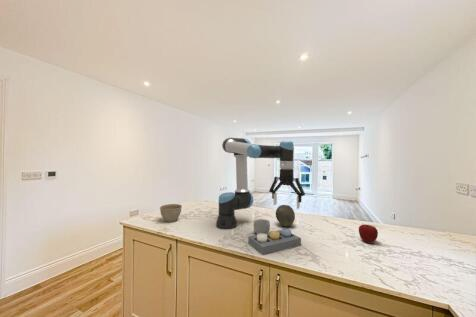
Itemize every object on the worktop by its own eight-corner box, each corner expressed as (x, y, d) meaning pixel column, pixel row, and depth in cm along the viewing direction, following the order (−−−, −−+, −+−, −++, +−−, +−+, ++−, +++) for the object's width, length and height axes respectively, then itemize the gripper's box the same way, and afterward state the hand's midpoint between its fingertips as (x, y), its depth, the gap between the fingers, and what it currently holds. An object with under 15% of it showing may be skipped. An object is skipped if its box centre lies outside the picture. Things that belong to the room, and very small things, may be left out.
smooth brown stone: (297, 224, 145) (297, 204, 145) (291, 230, 133) (291, 208, 133) (279, 221, 153) (279, 202, 153) (272, 226, 141) (272, 205, 141)
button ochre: (267, 238, 113) (267, 231, 113) (275, 237, 115) (275, 230, 115) (273, 242, 108) (273, 235, 108) (281, 240, 110) (281, 233, 110)
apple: (360, 237, 123) (361, 221, 123) (379, 241, 116) (379, 225, 116) (356, 241, 116) (356, 224, 116) (375, 246, 110) (376, 229, 110)
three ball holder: (248, 243, 113) (248, 236, 113) (283, 235, 124) (283, 229, 124) (262, 254, 99) (262, 247, 99) (301, 245, 111) (301, 238, 111)
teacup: (269, 237, 121) (269, 224, 121) (252, 235, 123) (252, 223, 123) (270, 229, 135) (270, 217, 135) (254, 228, 137) (254, 216, 137)
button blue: (279, 236, 117) (279, 229, 117) (286, 234, 119) (286, 228, 119) (285, 239, 112) (285, 232, 112) (293, 238, 114) (293, 231, 114)
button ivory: (255, 241, 109) (255, 234, 109) (263, 239, 112) (263, 232, 112) (260, 245, 104) (260, 237, 104) (269, 243, 107) (269, 236, 107)
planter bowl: (155, 223, 146) (155, 208, 146) (166, 216, 162) (166, 203, 162) (175, 224, 143) (175, 209, 143) (185, 217, 159) (185, 204, 159)
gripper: (263, 168, 114) (263, 204, 114) (307, 169, 99) (306, 211, 99) (269, 167, 120) (269, 202, 120) (311, 169, 106) (310, 208, 106)
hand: (286, 206), depth 110 cm, fingers open, 13 cm apart
